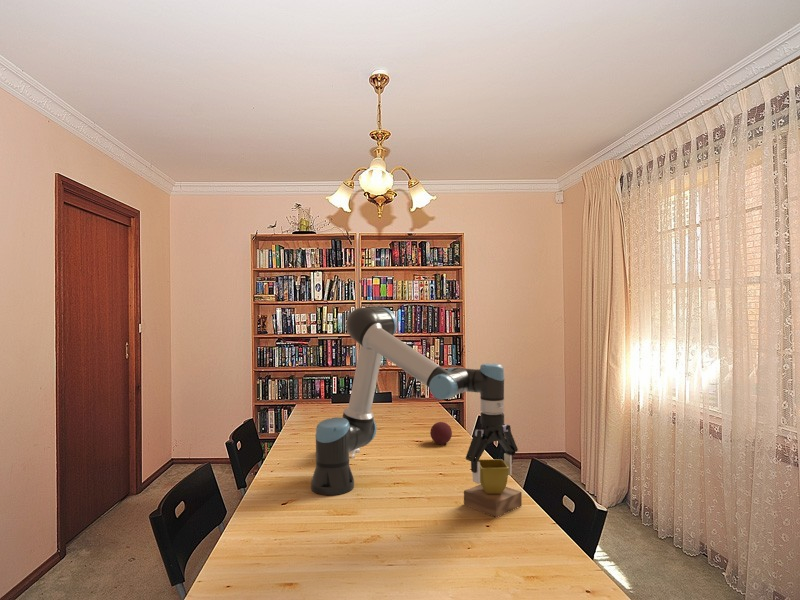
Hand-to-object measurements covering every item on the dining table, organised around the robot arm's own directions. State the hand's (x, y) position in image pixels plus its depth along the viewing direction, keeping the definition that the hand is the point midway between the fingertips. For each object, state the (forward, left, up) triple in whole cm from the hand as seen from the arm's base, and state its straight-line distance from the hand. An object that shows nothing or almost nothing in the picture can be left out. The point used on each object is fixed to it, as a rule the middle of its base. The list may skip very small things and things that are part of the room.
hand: (492, 478), depth 160 cm
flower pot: (0, 0, -4) cm, 4 cm away
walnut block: (0, 0, -9) cm, 9 cm away
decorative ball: (+28, +65, -9) cm, 71 cm away
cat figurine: (-15, +74, -9) cm, 76 cm away
